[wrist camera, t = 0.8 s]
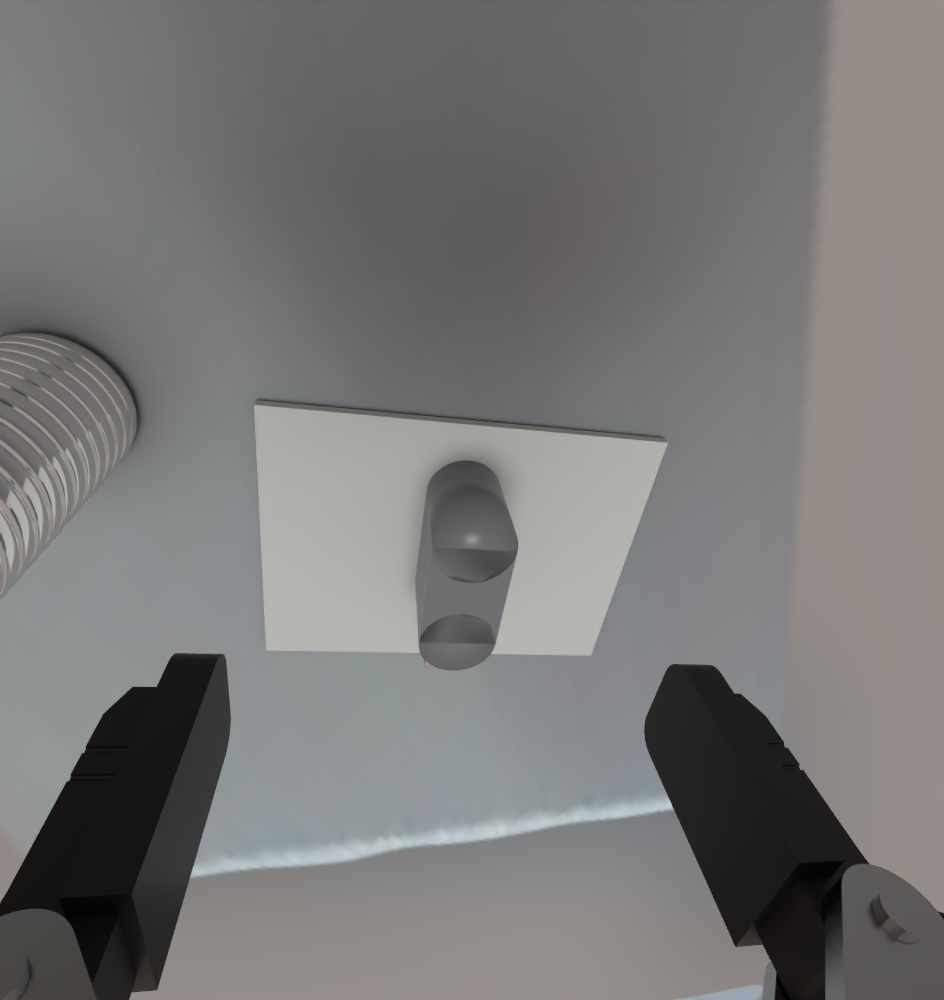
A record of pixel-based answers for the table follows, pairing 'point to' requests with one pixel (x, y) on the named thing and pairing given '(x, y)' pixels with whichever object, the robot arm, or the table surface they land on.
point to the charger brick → (463, 566)
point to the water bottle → (53, 440)
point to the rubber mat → (399, 516)
